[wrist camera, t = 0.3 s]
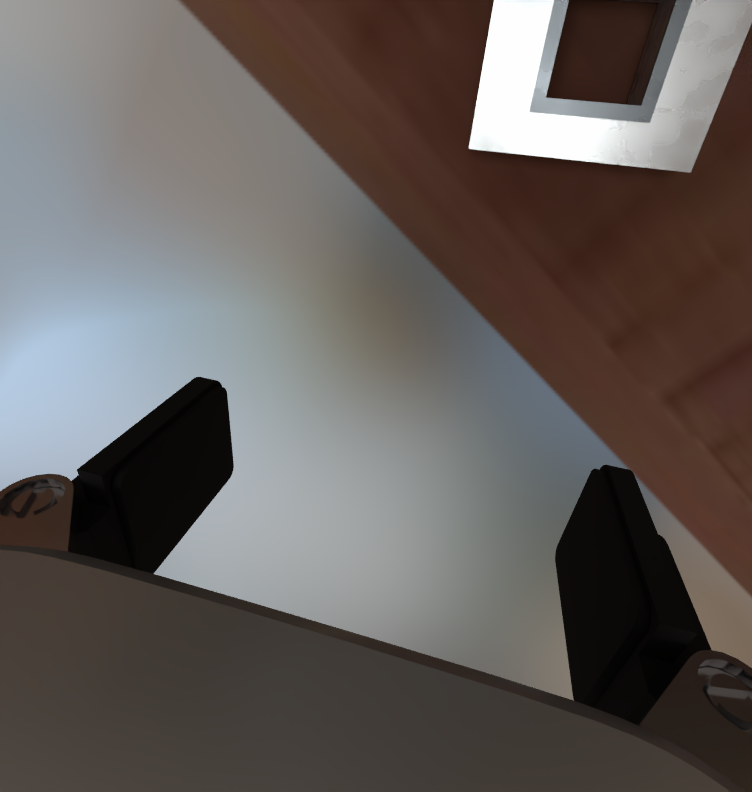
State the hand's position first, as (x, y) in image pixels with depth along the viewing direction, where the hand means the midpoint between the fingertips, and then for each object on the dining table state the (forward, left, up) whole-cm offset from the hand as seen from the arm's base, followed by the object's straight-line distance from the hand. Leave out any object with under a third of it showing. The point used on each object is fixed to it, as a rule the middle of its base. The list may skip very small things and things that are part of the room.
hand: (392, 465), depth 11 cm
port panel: (-13, +6, -30) cm, 33 cm away
